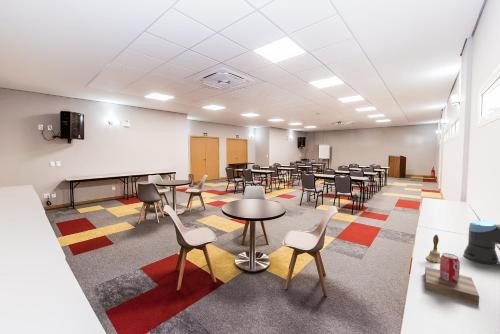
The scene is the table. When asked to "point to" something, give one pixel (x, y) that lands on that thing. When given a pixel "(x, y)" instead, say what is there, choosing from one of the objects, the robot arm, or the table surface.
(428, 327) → the table surface
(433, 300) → the table surface
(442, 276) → the soda can
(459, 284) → the podium
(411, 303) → the table surface
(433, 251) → the hand bell
